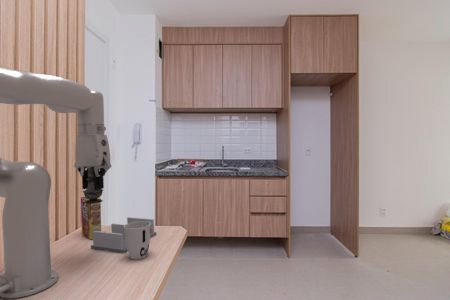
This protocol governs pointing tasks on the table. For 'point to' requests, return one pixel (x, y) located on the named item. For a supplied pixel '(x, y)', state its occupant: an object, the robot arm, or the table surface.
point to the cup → (137, 238)
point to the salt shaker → (92, 189)
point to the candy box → (90, 218)
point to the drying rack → (116, 237)
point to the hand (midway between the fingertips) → (93, 188)
